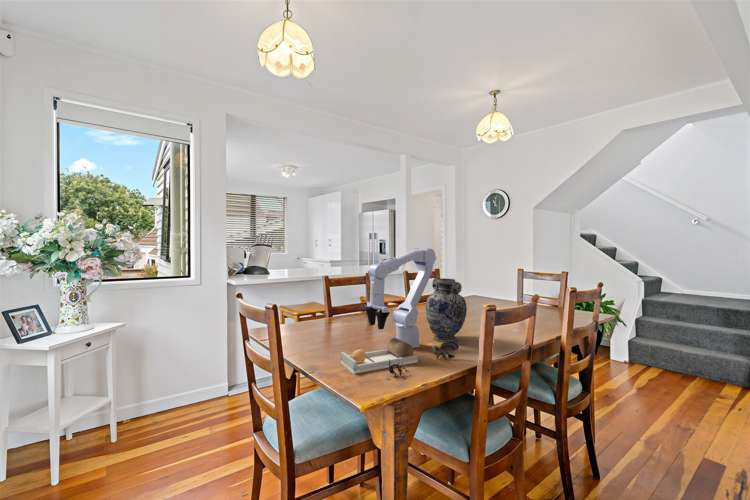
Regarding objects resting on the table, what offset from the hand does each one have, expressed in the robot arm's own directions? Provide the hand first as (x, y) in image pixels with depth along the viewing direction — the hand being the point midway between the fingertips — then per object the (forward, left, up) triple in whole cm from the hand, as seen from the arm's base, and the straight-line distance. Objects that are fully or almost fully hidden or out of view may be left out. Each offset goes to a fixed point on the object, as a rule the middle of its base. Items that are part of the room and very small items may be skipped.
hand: (376, 327), depth 144 cm
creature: (+4, +25, -11) cm, 28 cm away
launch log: (-5, +11, -10) cm, 16 cm away
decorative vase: (-38, -3, -11) cm, 39 cm away
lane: (+4, +11, -10) cm, 16 cm away
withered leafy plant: (-21, +18, -11) cm, 30 cm away
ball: (+13, +11, -7) cm, 18 cm away
